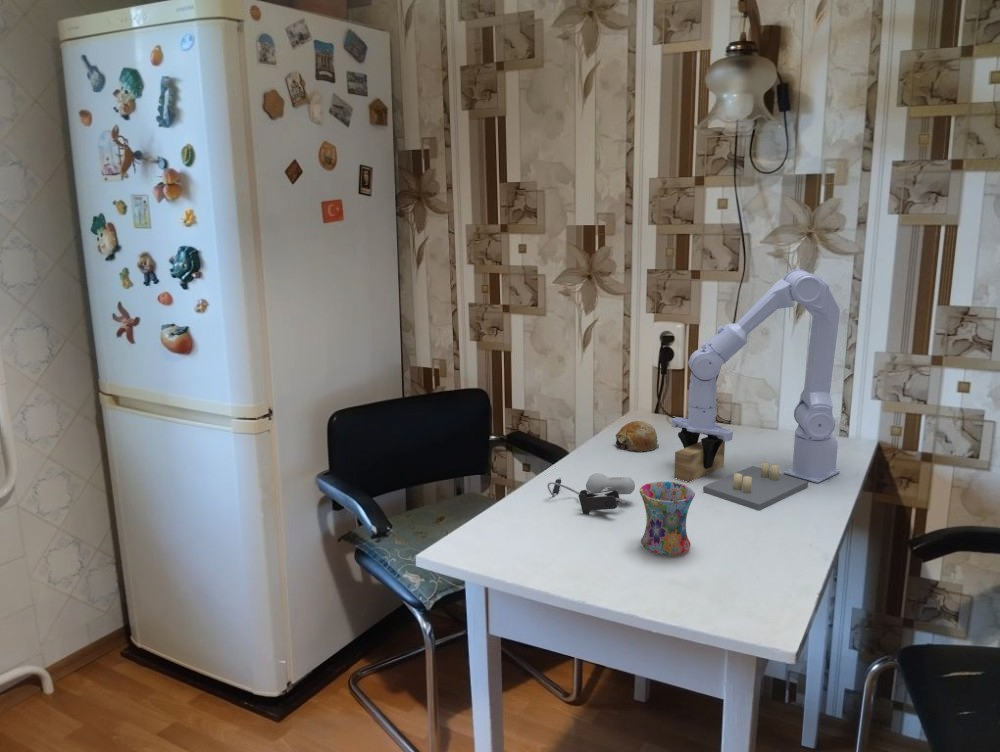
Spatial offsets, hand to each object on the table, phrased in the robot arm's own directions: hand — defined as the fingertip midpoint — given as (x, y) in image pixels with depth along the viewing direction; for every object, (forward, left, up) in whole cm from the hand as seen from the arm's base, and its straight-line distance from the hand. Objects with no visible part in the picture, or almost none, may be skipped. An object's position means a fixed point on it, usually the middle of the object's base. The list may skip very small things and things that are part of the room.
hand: (699, 464), depth 175 cm
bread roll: (-4, -21, -2) cm, 22 cm away
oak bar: (0, 0, -2) cm, 2 cm away
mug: (+34, +18, -2) cm, 39 cm away
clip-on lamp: (+30, -5, -2) cm, 31 cm away
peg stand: (0, +14, -2) cm, 14 cm away
